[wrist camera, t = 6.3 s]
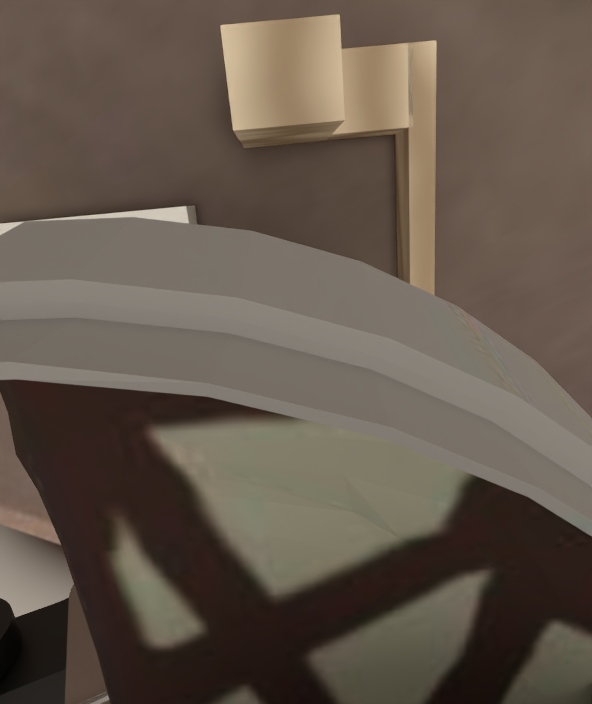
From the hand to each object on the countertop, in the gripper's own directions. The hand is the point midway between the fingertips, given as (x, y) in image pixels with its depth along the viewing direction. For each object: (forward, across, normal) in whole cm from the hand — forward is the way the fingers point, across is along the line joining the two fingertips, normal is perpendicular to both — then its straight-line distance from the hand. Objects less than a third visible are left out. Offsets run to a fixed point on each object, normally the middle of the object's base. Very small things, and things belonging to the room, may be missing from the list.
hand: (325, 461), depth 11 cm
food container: (+3, -1, 0) cm, 3 cm away
